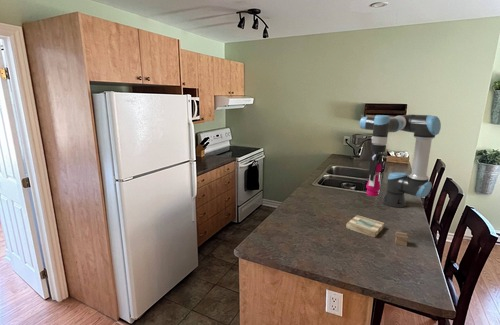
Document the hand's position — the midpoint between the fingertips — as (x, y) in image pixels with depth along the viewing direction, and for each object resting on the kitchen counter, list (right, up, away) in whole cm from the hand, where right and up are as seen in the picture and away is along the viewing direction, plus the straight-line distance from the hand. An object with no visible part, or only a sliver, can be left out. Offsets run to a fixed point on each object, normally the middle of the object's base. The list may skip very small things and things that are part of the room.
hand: (373, 184), depth 151 cm
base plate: (-2, -26, +7) cm, 27 cm away
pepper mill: (0, -6, +1) cm, 6 cm away
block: (+10, -30, -9) cm, 33 cm away
